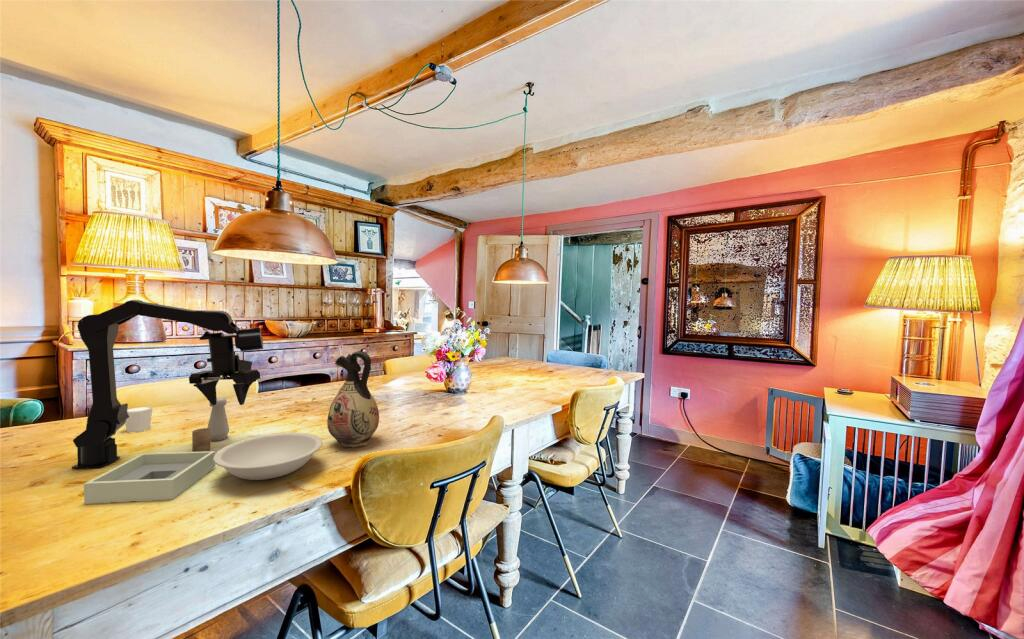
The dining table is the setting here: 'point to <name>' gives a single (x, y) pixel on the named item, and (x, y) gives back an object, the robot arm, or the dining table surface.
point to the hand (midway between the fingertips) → (228, 404)
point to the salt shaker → (218, 420)
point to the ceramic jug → (353, 405)
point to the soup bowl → (268, 455)
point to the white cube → (138, 419)
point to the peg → (201, 440)
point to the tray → (149, 477)
